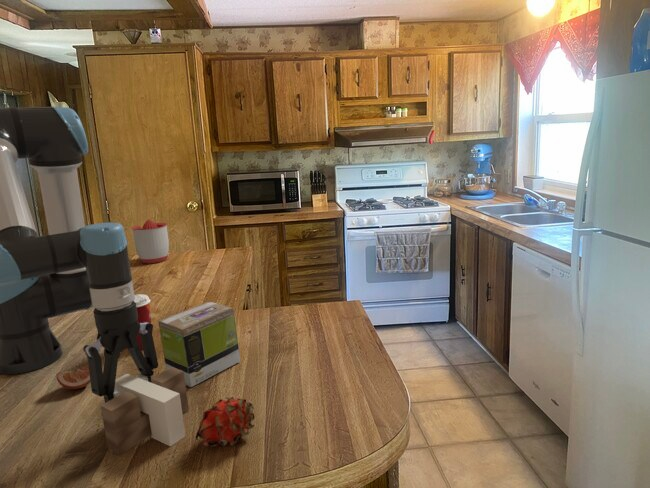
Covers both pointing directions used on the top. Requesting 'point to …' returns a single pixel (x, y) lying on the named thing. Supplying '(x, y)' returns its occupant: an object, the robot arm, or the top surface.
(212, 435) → the dragon fruit
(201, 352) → the tea box
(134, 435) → the walnut slotted plate
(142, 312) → the paper cup
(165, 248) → the citrus juicer
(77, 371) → the fruit slice
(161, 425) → the cream slotted plate
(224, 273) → the top surface
